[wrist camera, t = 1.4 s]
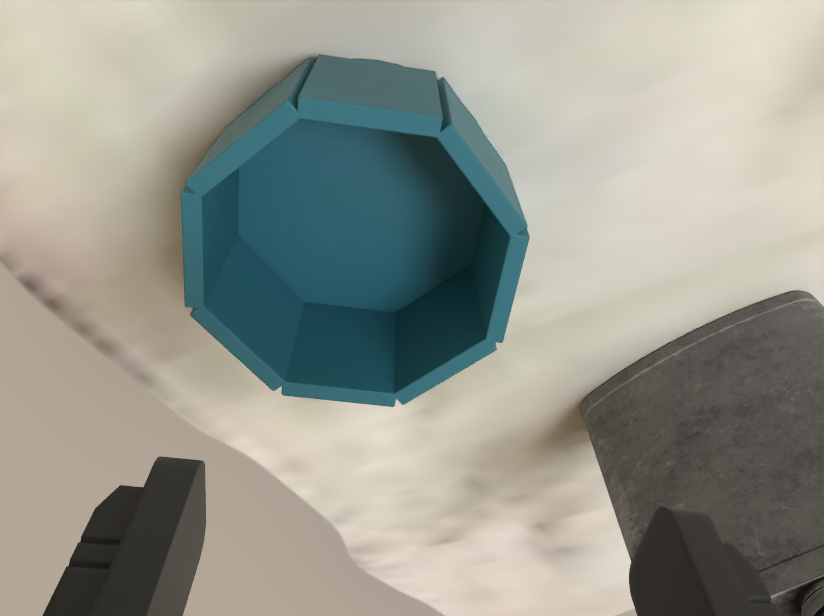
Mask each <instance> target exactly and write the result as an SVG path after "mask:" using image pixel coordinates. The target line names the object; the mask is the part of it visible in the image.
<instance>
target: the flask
mask: <svg viewBox="0 0 824 616" xmlns="http://www.w3.org/2000/svg"><path fill="white" fill-rule="evenodd" d="M581 412H582V415H583V418H584V421H585V424H586V427H587V430H588V433H589V436H590V439H591V442H592V445H593V448H594V451H595V454H596V457H597V460H598V463H599V466H600V469H601V472H602V475H603V478H604V481H605V484H606V487H607V490H608V493H609V496H610V499H611V502H612V505H613V508H614V511H615V514H616V517H617V520H618V523H619V526H620V529H621V532H622V535H623V538H624V541H625V544H626V547H627V550H628V553H629V556H630V559H631V561H632V559H633V557H634V555H635V552H636V550H637V548H638V546H639V544H640V542H641V540H642V538H643V536H644V534H645V531H646V529H647V527H648V525H649V523H650V521H651V519H652V517H653V515H654V513H655V511H656V510H657V509H658V508H659V507H671V508H682V509H692V510H702V511H704V512H705V513H707V514H708V516H709V517H710V519H711V521H712V523H713V525H714V527H715V529H716V531H717V533H718V535H719V537H720V539H721V541H722V543H729V544H734V545H735V547H736V548H737V549H738V550H739V551H740V552H741V553H742V554H743V555H744V556H745V557H746V559H747V560H748V561H749V562H750V563H751V564H752V565H753V566H754V567H755V568H756V569H757V571H758V573H759V575H760V577H761V579H762V581H763V583H764V585H765V587H766V589H767V591H768V593H769V595H770V596H771V603H772V604H775V606H776V608H777V610H778V612H779V614H780V616H824V307H823V306H822V304H821V303H820V302H819V301H818V300H817V299H816V298H815V297H814V296H813V295H811V294H810V293H808V292H804V291H792V292H788V293H785V294H782V295H779V296H776V297H773V298H770V299H767V300H765V301H762V302H759V303H757V304H754V305H751V306H749V307H746V308H744V309H741V310H739V311H737V312H734V313H732V314H729V315H727V316H725V317H723V318H720V319H718V320H716V321H713V322H711V323H709V324H707V325H705V326H703V327H701V328H699V329H697V330H695V331H693V332H691V333H689V334H687V335H685V336H683V337H681V338H679V339H677V340H675V341H673V342H671V343H669V344H668V345H666V346H664V347H662V348H660V349H658V350H657V351H655V352H653V353H651V354H649V355H648V356H646V357H644V358H643V359H641V360H639V361H638V362H636V363H634V364H633V365H631V366H630V367H628V368H626V369H625V370H623V371H622V372H620V373H619V374H617V375H616V376H614V377H613V378H611V379H610V380H608V381H607V382H606V383H604V384H603V385H601V386H600V387H599V388H597V389H596V390H595V391H593V392H592V393H590V394H589V395H588V396H587V397H586V398H585V399H584V401H583V403H582V406H581Z"/></svg>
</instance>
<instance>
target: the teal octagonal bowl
mask: <svg viewBox="0 0 824 616" xmlns="http://www.w3.org/2000/svg"><path fill="white" fill-rule="evenodd" d="M181 210H182V238H183V266H184V293H185V307H191V308H193V309H192V311H191V313H190V315H191V317H193V318H194V319H195V320H196V321H197V322H198V323H199V324H200V325H201V326H202V327H204V328H205V329H206V330H207V331H208V332H209V333H210V334H211V335H212V336H213V337H214V338H216V339H217V340H218V341H219V342H220V343H221V344H222V345H223V346H224V347H225V348H227V349H228V350H229V351H230V352H231V353H232V354H233V355H234V356H235V357H236V358H237V359H239V360H240V361H241V362H242V363H243V364H244V365H245V366H246V367H247V368H248V369H250V370H251V371H252V372H253V373H254V374H255V375H256V376H257V377H258V378H259V379H260V380H262V381H263V382H264V383H265V384H266V385H267V386H268V387H269V388H270V389H271V390H273V391H275V390H276V389H278V388H279V387H281V386H282V395H285V396H294V397H304V398H313V399H323V400H332V401H342V402H352V403H361V404H371V405H380V406H390V407H394V406H395V401H396V399H397V400H398V401H399V402H400V403H401V404H402V405H404V404H406V403H407V402H409V401H411V400H413V399H414V398H416V397H418V396H419V395H421V394H423V393H424V392H426V391H428V390H429V389H431V388H433V387H435V386H436V385H438V384H440V383H441V382H443V381H445V380H446V379H448V378H450V377H451V376H453V375H455V374H457V373H458V372H460V371H462V370H463V369H465V368H467V367H468V366H470V365H472V364H474V363H475V362H477V361H479V360H480V359H482V358H484V357H485V356H487V355H489V354H490V353H492V352H494V351H496V350H497V348H496V343H495V342H499V343H502V342H503V339H504V335H505V331H506V327H507V323H508V319H509V316H510V312H511V308H512V304H513V300H514V296H515V292H516V288H517V284H518V281H519V277H520V273H521V269H522V265H523V261H524V257H525V253H526V249H527V246H528V242H529V238H530V237H529V234H528V231H527V223H526V220H525V218H524V215H523V212H522V209H521V206H520V203H519V201H518V198H517V195H516V192H515V189H514V187H513V184H512V181H511V178H510V175H509V172H508V170H507V167H506V164H505V163H504V161H503V160H502V159H501V157H500V156H499V154H498V153H497V151H496V150H495V149H494V147H493V146H492V144H491V143H490V142H489V140H488V139H487V137H486V136H485V134H484V133H483V131H482V129H481V128H480V126H479V125H478V123H477V121H476V120H475V118H474V117H473V116H472V114H471V113H470V112H469V111H468V110H467V108H466V107H465V106H464V105H463V103H462V102H461V101H460V99H459V98H458V96H457V95H456V94H455V92H454V91H453V89H452V88H451V86H450V85H449V84H448V82H447V81H446V79H445V78H444V77H442V78H441V79H439V80H438V81H437V79H436V73H435V71H429V70H422V69H415V68H408V67H403V66H401V65H398V64H393V63H389V62H384V61H380V60H369V59H346V58H339V57H332V56H326V55H319V56H318V58H317V60H316V62H315V63H314V61H313V60H312V59H311V58H308V59H307V60H306V61H305V62H303V63H302V64H301V65H300V66H299V67H297V68H296V69H295V70H294V71H293V72H291V73H290V74H289V75H288V76H287V77H285V78H284V79H283V80H282V81H280V82H279V83H278V84H276V85H275V86H273V87H272V88H271V89H269V90H268V91H267V92H266V93H265V94H264V95H263V96H262V97H261V98H260V99H259V100H258V101H257V102H255V103H254V104H253V105H252V106H250V107H249V108H248V109H247V110H246V111H244V112H243V113H242V114H241V115H240V116H238V117H237V118H236V119H235V120H234V121H232V122H231V123H230V124H229V125H228V126H226V128H225V129H224V130H223V132H222V133H221V134H220V136H219V137H218V139H217V140H216V141H215V143H214V144H213V145H212V147H211V148H210V150H209V151H208V152H207V154H206V155H205V156H204V158H203V159H202V160H201V162H200V163H199V165H198V166H197V167H196V169H195V170H194V171H193V173H192V174H191V176H190V177H189V178H188V180H187V181H186V186H185V187H184V189H183V190H182V191H181Z"/></svg>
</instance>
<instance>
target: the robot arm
mask: <svg viewBox="0 0 824 616" xmlns="http://www.w3.org/2000/svg"><path fill="white" fill-rule="evenodd" d="M205 498H206V493H205V464H204V461H200V460H190V459H180V458H170V457H158V458H157V459H156V461H155V462H154V465H153V467H152V469H151V472H150V474H149V476H148V479H147V481H146V483H145V485H144V488H143V487H132V486H122V485H120V486H119V487H118V488H117V489H116V490H115V491H114V492H112V493H111V494H110V495H109V496H108V497H107V498H106V499H105V500H104V501H103V502H102V503H101V504H100V505H99V506H98V507H96V508H95V510H94V512H93V514H92V516H91V518H90V520H89V522H88V524H87V527H86V528H85V530H84V532H83V534H82V536H81V542H80V543H78V545H77V547H76V549H75V551H74V553H73V555H72V557H71V559H70V563H69V566H68V567H66V569H65V571H64V573H63V575H62V577H61V579H60V581H59V583H58V585H57V587H56V589H55V591H54V594H53V595H52V597H51V600H50V602H49V604H48V606H47V608H46V610H45V612H44V614H43V616H183V613H184V609H185V606H186V603H187V600H188V596H189V593H190V590H191V586H192V583H193V580H194V576H195V573H196V570H197V566H198V563H199V560H200V556H201V552H202V548H203V542H204V536H205V528H206V527H205V526H206V499H205ZM629 586H630V592H631V597H632V600H633V603H634V606H635V610H636V613H637V616H780V614H779V612H778V610H777V608H776V606H775V604H772V603H771V596H770V595H769V593H768V591H767V589H766V587H765V585H764V583H763V581H762V579H761V577H760V575H759V573H758V571H757V569H756V568H755V567H754V566H753V565H752V564H751V563H750V562H749V561H748V560H747V559H746V557H745V556H744V555H743V554H742V553H741V552H740V551H739V550H738V549H737V548H736V547H735V545H734V544H729V543H722V541H721V539H720V537H719V535H718V533H717V531H716V529H715V527H714V525H713V523H712V521H711V519H710V517H709V516H708V514H707V513H705V512H704V511H702V510H692V509H682V508H671V507H659V508H658V509H657V510H656V511H655V513H654V515H653V517H652V519H651V521H650V523H649V525H648V527H647V529H646V531H645V534H644V536H643V538H642V540H641V542H640V544H639V546H638V548H637V550H636V552H635V555H634V557H633V559H632V561H631V565H630V572H629Z"/></svg>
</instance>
